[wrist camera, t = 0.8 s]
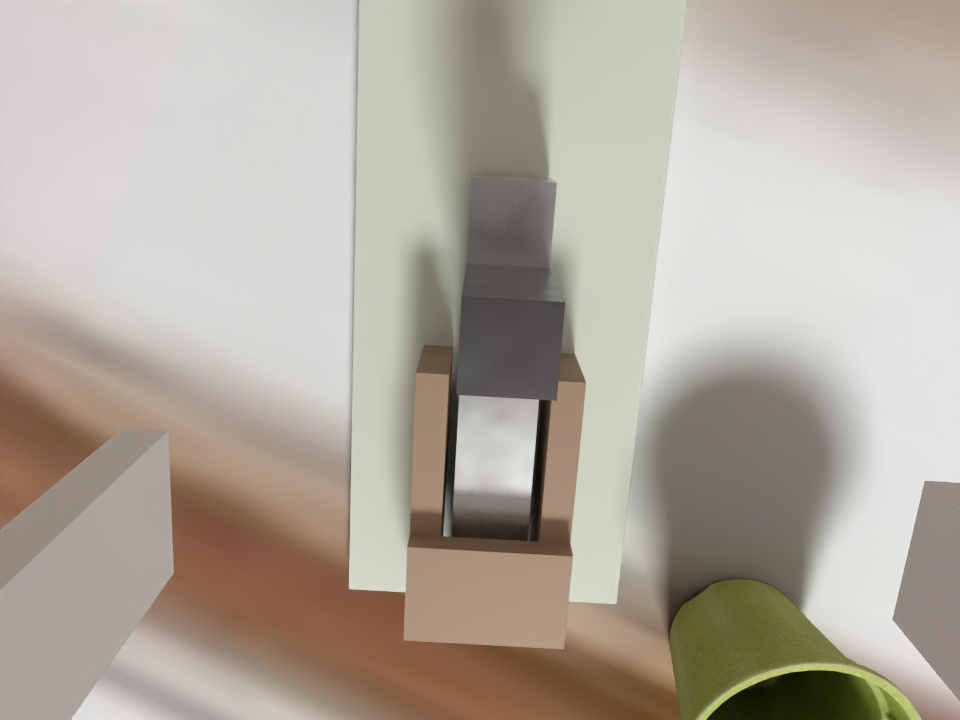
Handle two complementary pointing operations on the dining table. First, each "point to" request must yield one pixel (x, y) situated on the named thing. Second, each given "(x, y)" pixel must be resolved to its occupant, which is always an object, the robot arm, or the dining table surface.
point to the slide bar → (504, 352)
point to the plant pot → (769, 663)
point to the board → (440, 276)
